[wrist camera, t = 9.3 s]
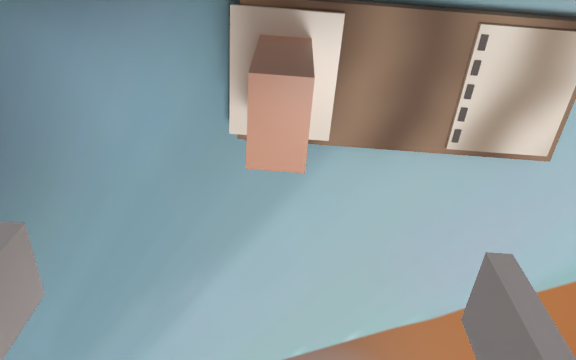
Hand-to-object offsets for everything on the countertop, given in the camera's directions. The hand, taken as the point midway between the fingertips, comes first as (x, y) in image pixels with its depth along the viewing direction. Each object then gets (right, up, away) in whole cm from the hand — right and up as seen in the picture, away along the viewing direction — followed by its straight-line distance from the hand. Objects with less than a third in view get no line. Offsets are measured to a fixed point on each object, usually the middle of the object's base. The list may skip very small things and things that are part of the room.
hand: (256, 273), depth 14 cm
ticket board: (+8, +9, +16) cm, 20 cm away
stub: (+1, +9, +15) cm, 17 cm away
